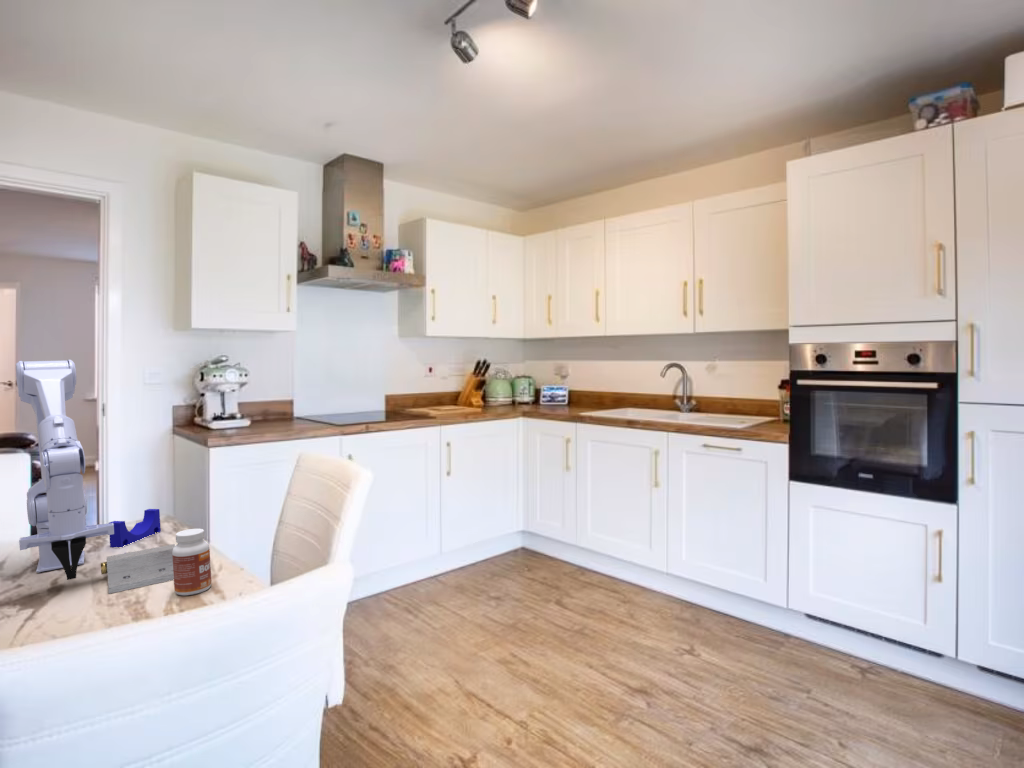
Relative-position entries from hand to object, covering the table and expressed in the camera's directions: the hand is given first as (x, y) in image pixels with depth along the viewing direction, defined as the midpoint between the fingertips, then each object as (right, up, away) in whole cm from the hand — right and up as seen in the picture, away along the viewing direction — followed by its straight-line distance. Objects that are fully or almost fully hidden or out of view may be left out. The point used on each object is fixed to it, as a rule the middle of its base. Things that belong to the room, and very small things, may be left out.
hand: (71, 577), depth 114 cm
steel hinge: (+10, -1, +7) cm, 12 cm away
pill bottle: (+26, -1, -4) cm, 26 cm away
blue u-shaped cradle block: (-7, -1, +29) cm, 30 cm away
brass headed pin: (+9, 0, +7) cm, 11 cm away
